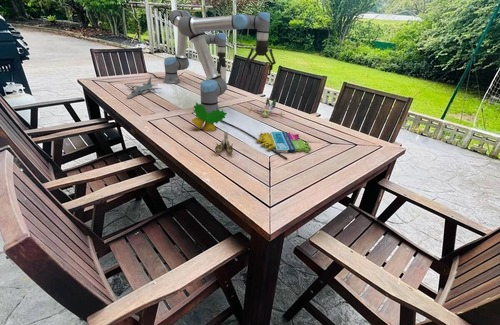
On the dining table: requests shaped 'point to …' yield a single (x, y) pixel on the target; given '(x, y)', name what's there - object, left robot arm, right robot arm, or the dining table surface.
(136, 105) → the dining table surface
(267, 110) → the toy
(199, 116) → the ornament
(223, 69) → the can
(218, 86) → the right robot arm
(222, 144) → the jawbone
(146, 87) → the airplane
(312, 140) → the dining table surface
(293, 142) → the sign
